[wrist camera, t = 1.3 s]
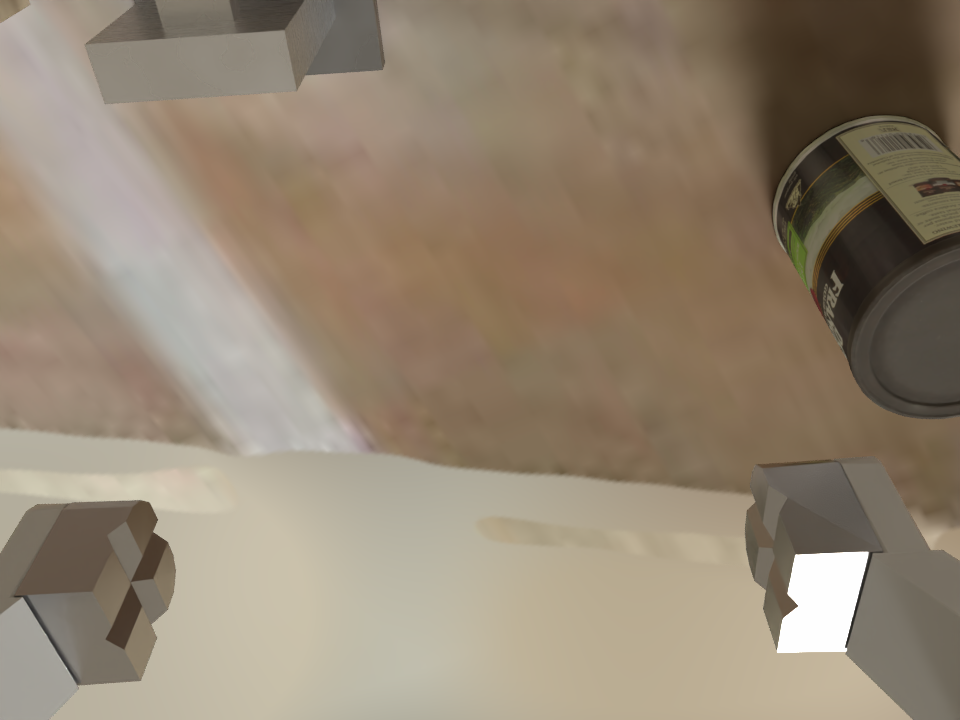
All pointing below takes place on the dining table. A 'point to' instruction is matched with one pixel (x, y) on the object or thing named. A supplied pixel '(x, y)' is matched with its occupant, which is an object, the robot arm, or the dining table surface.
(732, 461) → the dining table surface
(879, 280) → the coffee can
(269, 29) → the cup bracket
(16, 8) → the rail post
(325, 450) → the dining table surface
